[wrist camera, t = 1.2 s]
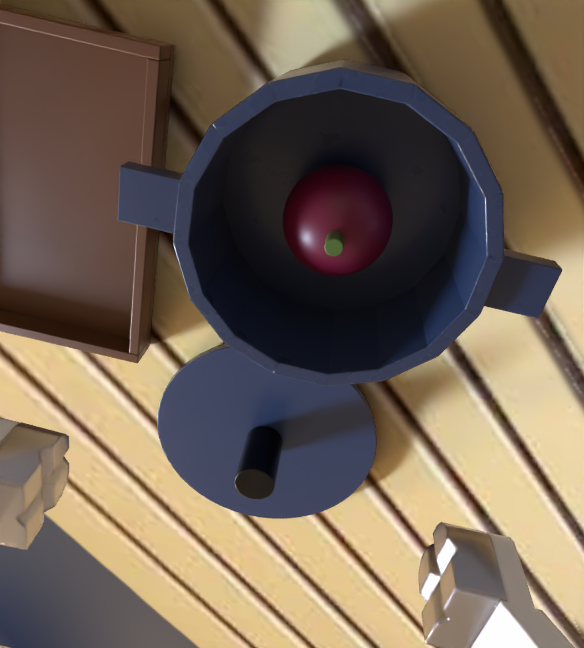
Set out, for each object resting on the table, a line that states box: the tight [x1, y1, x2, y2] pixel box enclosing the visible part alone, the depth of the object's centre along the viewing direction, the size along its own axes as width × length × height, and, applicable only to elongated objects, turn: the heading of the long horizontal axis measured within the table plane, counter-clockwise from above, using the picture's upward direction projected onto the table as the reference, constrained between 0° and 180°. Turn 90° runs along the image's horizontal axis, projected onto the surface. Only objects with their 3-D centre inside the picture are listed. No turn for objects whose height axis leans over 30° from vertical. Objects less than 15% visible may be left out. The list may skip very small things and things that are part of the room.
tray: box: [0, 4, 175, 363], centre depth 29 cm, size 17×12×2 cm
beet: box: [283, 164, 393, 276], centre depth 25 cm, size 5×5×6 cm
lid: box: [157, 344, 377, 518], centre depth 34 cm, size 14×14×5 cm
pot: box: [118, 59, 562, 386], centre depth 25 cm, size 13×19×7 cm
